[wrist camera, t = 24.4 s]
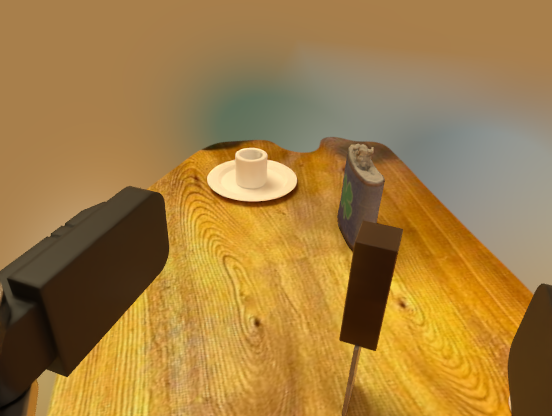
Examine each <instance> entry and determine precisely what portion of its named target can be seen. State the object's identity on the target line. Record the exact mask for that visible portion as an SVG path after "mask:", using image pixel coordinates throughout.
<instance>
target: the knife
mask: <svg viewBox="0 0 552 416" xmlns="http://www.w3.org/2000/svg"><path fill="white" fill-rule="evenodd" d="M402 232H403V229H401V228H396V227H391V226H387V225H382V224H378V223H373V222H369V221H362V224H361V227H360V229H359V232H358V235H357V237H356V240H355V244H354V250H353V257H352V263H351V269H350V275H349V282H348V288H347V294H346V301H345V307H344V313H343V320H342V326H341V332H340V338H339V340H340V341H343V342H346V343H350V344H353V345H355V347H354V351H353V357H352V362H351V368H350V373H349V378H348V384H347V389H346V394H345V400H344V405H343V411H342V416H346V414H347V410H348V406H349V402H350V398H351V394H352V390H353V386H354V382H355V377H356V372H357V366H358V361H359V356H360V351H361V347H363V348H367V349H370V350H373V351H376V349H377V344H378V340H379V335H380V331H381V326H382V322H383V317H384V313H385V308H386V304H387V299H388V295H389V290H390V286H391V281H392V277H393V273H394V268H395V264H396V259H397V255H398V250H399V246H400V241H401V237H402Z"/></svg>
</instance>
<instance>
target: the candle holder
mask: <svg viewBox="0 0 552 416" xmlns="http://www.w3.org/2000/svg"><path fill="white" fill-rule="evenodd" d="M207 182H208V184H209V186H210V187H211V189H212V190H214V191H215V192H216V193H218V194H220V195H222V196H224V197H227V198H231V199H235V200H240V201H266V200H272V199H276V198H279V197H282V196H284V195H286V194H288V193H289V192H291V191H292V190H293V189H294V188H295V186H296V184H297V177H296V175H295V173H294V172H293V171H292V170H291V169H290V168H288V167H287V166H285V165H283V164H281V163H278V162H276V161H271V160H267V153H266V152H265V151H263V150H261V149H257V148H245V149H241V150H239V151H238V152H237V153H236V155H235V160H232V161H228V162H225V163H222V164H220V165H218V166H216V167H215V168H214V169H212V170H211V171H210V173H209V174H208V177H207Z"/></svg>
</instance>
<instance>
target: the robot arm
mask: <svg viewBox="0 0 552 416" xmlns="http://www.w3.org/2000/svg"><path fill="white" fill-rule="evenodd" d="M168 254H169V241H168V231H167V221H166V211H165V202H164V198H163V196H162V195H161V194H160V193H158V192H153V191H149V190H145V189H141V188H136V187H132V186H129V187H126V188H124V189H123V190H121V191H120V192H119V193H117V194H116V195H115V196H114V197H112V198H111V199H109V200H108V201H107V202H102V203H100V204H97V205H95V206H92V207H90V208H88V209H85V210H83V211H81V212H80V213H78V214H77V215H76V216H74V217H73V218H72V219H71V220H69V221H68V222H66V223H65V226H61V227H59V228H58V229H57V230H55V231H54V232H53V233H51V236H50V237H46V238H44V239H43V240H42V241H40V242H39V243H38V244H36V245H35V246H33V247H32V248H31V249H30V250H28V251H27V252H25V253H24V254H23V255H21V256H20V257H18V258H17V259H16V260H15V261H13V262H12V263H10V264H9V265H8V266H6V267H5V268H4V269H2V270H1V271H0V416H35V412H36V405H37V397H38V382H37V380H36V379H37V378H38V377H39V376H40V375H41V374H42V373H43V372H44V371H45V370H46V369H47V370H50V371H52V372H55V373H58V374H60V375H63V376H66V377H68V376H69V375H70V374H71V372H72V371H73V370H74V369H75V368H76V367H77V366H78V365H79V363H80V362H81V361H82V360H83V359H84V358H85V357H86V356H87V354H88V353H89V352H90V351H91V350H92V349H93V348H94V347H95V345H96V344H97V343H98V342H99V341H100V340H101V339H102V338H103V336H104V335H105V334H106V333H107V332H108V331H109V330H110V329H111V327H112V326H113V325H114V324H115V323H116V322H117V321H118V320H119V318H120V317H121V316H122V315H123V314H124V313H125V312H126V311H127V309H128V308H129V307H130V306H131V305H132V304H133V303H134V302H135V301H136V299H137V298H138V297H139V296H140V295H141V294H142V293H143V292H144V290H145V289H146V288H147V287H148V286H149V285H150V284H151V283H152V281H153V280H154V279H155V278H156V277H157V276H158V275H159V274H160V272H161V271H162V270H163V268H164V266H165V264H166V261H167V258H168ZM508 379H509V390H510V401H511V412H512V416H552V286H551V285H547V284H541V285H540V286H539V287H538V288H537V290H536V291H535V293H534V296H533V298H532V300H531V302H530V304H529V306H528V309H527V311H526V313H525V315H524V317H523V319H522V322H521V324H520V326H519V328H518V330H517V333H516V335H515V337H514V339H513V342H512V345H511V348H510V353H509V359H508Z"/></svg>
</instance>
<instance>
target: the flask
mask: <svg viewBox="0 0 552 416" xmlns="http://www.w3.org/2000/svg"><path fill="white" fill-rule="evenodd" d="M371 148H372V149H368V148H367V146H366V145H363V144H362V146H361V145H360V144H356V145H351V146H350V147H349V148H348V152H347V160H346V167H345V174H344V180H343V188H342V195H341V201H340V207H339V210H338V216H337V218H338V226H339V229H340V230H341V232H342V235H343V237H344V239H345V241H346V243H347V244H348V246H349V247H350V248H351V249H352V250H354V244H355V240H356V237H357V235H358V232H359V229H360V227H361V224H362V221H369V222H373V223H376V222H377V217H378V211H379V206H380V201H381V196H382V191H383V186H384V182H385V180H384V177H383V175H381V174H380V172H379V171H378V170H377V169H376V167H375V166H374V164H373V162H372V160H371V156H370V154H373V152H374V148H373V147H371Z"/></svg>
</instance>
